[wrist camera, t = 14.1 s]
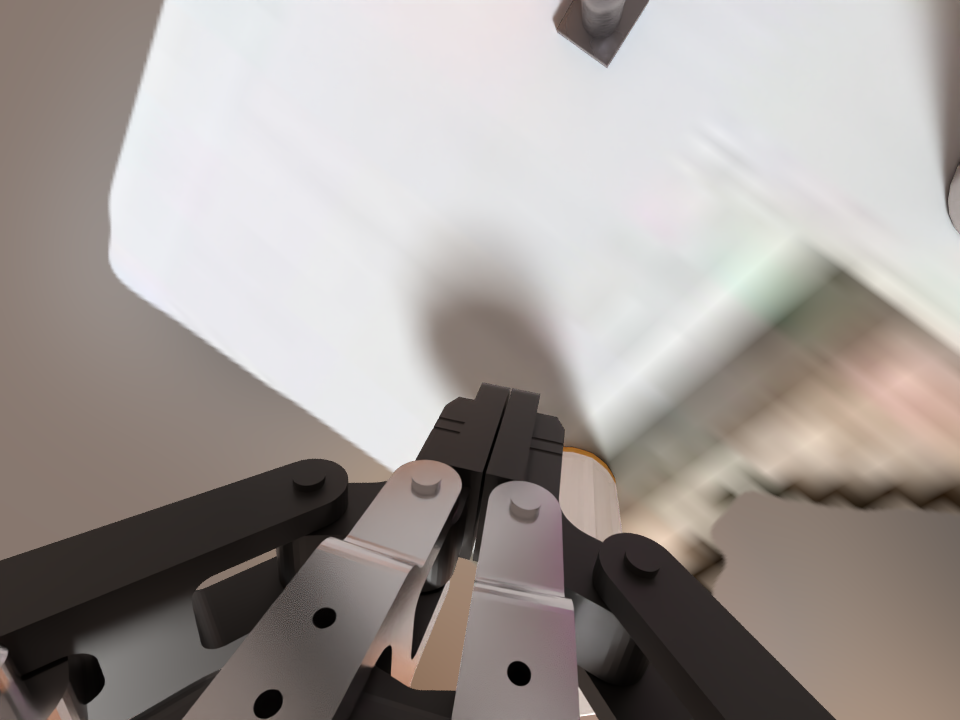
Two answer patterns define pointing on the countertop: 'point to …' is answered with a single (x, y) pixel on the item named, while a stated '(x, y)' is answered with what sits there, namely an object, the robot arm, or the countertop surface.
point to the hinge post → (600, 25)
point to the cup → (588, 505)
